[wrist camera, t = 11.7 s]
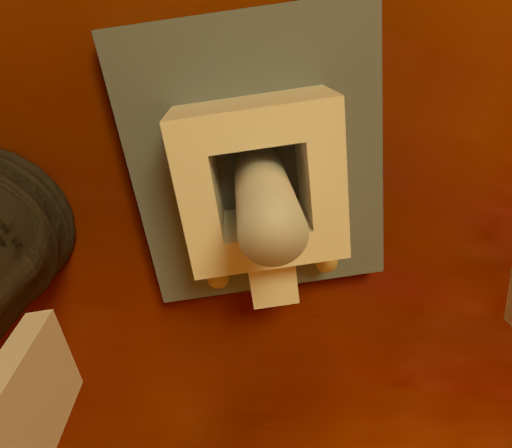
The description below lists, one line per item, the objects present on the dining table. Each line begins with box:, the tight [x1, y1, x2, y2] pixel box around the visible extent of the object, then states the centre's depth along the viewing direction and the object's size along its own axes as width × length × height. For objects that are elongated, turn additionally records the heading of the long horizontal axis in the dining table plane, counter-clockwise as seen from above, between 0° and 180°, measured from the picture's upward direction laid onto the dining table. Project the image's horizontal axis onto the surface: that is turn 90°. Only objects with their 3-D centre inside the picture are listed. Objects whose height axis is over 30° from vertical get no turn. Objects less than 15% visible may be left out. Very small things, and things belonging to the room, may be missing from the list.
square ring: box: [159, 85, 351, 310], centre depth 25 cm, size 13×9×5 cm
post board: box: [91, 0, 383, 303], centre depth 23 cm, size 18×16×12 cm
